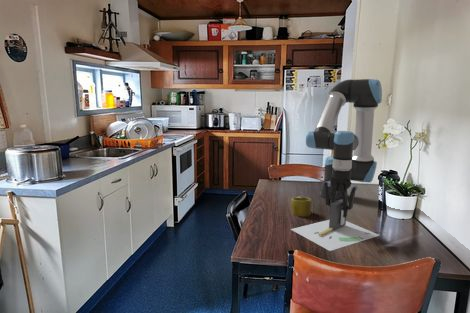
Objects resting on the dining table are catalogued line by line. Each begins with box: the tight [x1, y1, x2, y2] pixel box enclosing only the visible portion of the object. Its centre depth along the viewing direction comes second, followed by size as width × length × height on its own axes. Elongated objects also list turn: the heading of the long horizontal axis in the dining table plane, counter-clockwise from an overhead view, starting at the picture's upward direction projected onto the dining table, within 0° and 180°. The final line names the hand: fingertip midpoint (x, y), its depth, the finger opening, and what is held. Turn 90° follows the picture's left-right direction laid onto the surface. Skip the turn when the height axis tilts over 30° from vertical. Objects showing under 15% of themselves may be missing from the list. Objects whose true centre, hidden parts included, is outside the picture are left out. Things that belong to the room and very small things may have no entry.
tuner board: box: [290, 219, 381, 252], centre depth 133 cm, size 28×22×1 cm
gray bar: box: [318, 199, 347, 236], centre depth 134 cm, size 18×3×11 cm, turn 132°
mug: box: [290, 196, 312, 217], centre depth 155 cm, size 12×10×10 cm
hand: (337, 222), depth 138 cm, fingers closed on gray bar, 3 cm apart
